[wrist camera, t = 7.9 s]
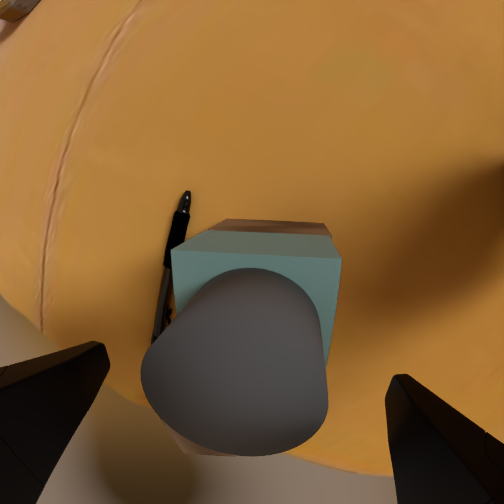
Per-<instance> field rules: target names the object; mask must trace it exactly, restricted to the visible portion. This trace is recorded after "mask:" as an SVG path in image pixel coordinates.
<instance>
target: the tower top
mask: <svg viewBox="0 0 504 504" xmlns="http://www.w3.org/2000/svg"><path fill="white" fill-rule="evenodd" d="M171 261H172V274H173V286H174V297H175V307H176V316H177V315H178V314H179V313H180V312H181V311H182V309H183V308H184V307H185V306H186V305H187V304H188V303H189V301H190V300H191V299H192V298H193V297H194V296H195V295H196V293H197V292H198V291H199V290H200V289H201V288H202V287H203V286H204V285H205V284H206V283H207V282H208V281H209V280H211V279H212V278H214V277H215V276H217V275H219V274H221V273H224V272H226V271H229V270H233V269H238V268H260V269H266V270H270V271H274V272H276V273H279V274H281V275H283V276H285V277H287V278H289V279H291V280H292V281H293V282H295V283H296V284H298V285H299V286H300V287H301V288H302V289H303V290H304V291H305V292H306V293H307V294H308V296H309V297H310V298H311V300H312V302H313V303H314V305H315V307H316V310H317V312H318V316H319V320H320V327H321V335H322V343H323V351H324V360H325V370H326V365H327V359H328V354H329V349H330V343H331V337H332V331H333V325H334V319H335V312H336V305H337V298H338V290H339V282H340V273H341V264H342V258H341V256H340V254H339V253H338V251H337V249H336V247H335V246H334V244H333V242H332V241H331V239H330V237H329V236H322V235H303V234H282V233H260V232H235V231H206V230H205V231H203V232H202V233H200V234H198V235H196V236H194V237H193V238H191V239H189V240H187V241H186V242H184V243H182V244H180V245H178V246H177V247H175V248H173V249H172V250H171Z"/></svg>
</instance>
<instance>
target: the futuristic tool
mask: <svg viewBox="0 0 504 504" xmlns="http://www.w3.org/2000/svg"><path fill="white" fill-rule="evenodd" d="M39 1H40V0H1V1H0V19H2V20H5V21H8V22H11V23H12V22H14V21H16V20H17V19H19V18H20V17H22V16H24V15H25V14H27V13H29V12H30V11H32V9H33V8H34V7H35V6H36V5H37V4H38V3H39Z"/></svg>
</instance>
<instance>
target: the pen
mask: <svg viewBox="0 0 504 504" xmlns="http://www.w3.org/2000/svg"><path fill="white" fill-rule="evenodd" d="M190 206H191V192H190V191H187V190H186V191H185V193H184V194H183V196H182V197H181V199H180V202H179V205H178V208H177V210H176V211H175V213H174V216H173V221H172V226H171V230H170V234H169V238H168V242H167V246H166V250H165V256H164V263H163V265H164V269H163V274H162V280H161V285H160V291H159V297H158V303H157V309H156V315H155V322H154V329H153V334H152V339H151V345H152V344H153V343H154V342H155V341H156V339H157V338H158V337H159V336H160V335H161V334H162V332H163V331H164V330H165V325H166V320H168V325H169V324H170V323H171V319H170V315H171V313H172V309H171V308H170V309H169V303H170V298H171V293H172V288H173V274H172V261H171V250H172V249H173V248H175V247H177V246H178V245H180V244H182V243H184V240H185V235H186V231H187V226H188V223H189V219H190V214H189V211H190ZM168 309H169V312H168ZM167 314H168V316H167Z"/></svg>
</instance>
